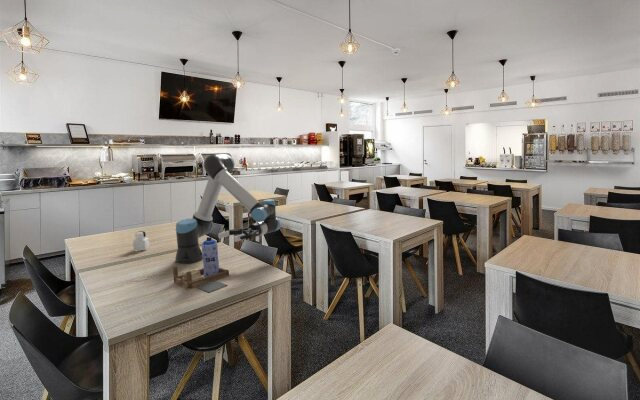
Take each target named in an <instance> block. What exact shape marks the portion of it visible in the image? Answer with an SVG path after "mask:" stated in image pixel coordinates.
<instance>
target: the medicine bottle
mask: <svg viewBox="0 0 640 400" xmlns="http://www.w3.org/2000/svg"><path fill="white" fill-rule="evenodd" d="M134 236H135V237H134V238H135V239H133V240H132V245H133V251H134V252H136V251H135V250H146V249H147V248H148V249H150V241H149V240H150V239H149V237H146V236H147V235H146V231H144V230H143V231H142V230H140V231H136V232H135V233H134ZM148 249H147V250H148ZM147 250H146V251H147Z"/></svg>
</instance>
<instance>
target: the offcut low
mask: <svg viewBox="0 0 640 400" xmlns="http://www.w3.org/2000/svg"><path fill="white" fill-rule="evenodd" d="M200 279H203V277H202V276H201V275H200V276H199V277H197V278H194V279H192V282H194V281H197V280H200ZM183 280H184V281H186V282H187V278H183Z"/></svg>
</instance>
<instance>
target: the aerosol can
mask: <svg viewBox="0 0 640 400" xmlns="http://www.w3.org/2000/svg"><path fill="white" fill-rule="evenodd" d="M201 252H202V255H203V259H202V265H203V267H202V268H204V274H203V278H206V277H209V276H212V275H215V274H218V273H219V267H220V264H219V263H220V261H219V249H218V242H217V241H216V240H215V239H212V237H206V239H205V240H204V241H203V242H202V244H201Z"/></svg>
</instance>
